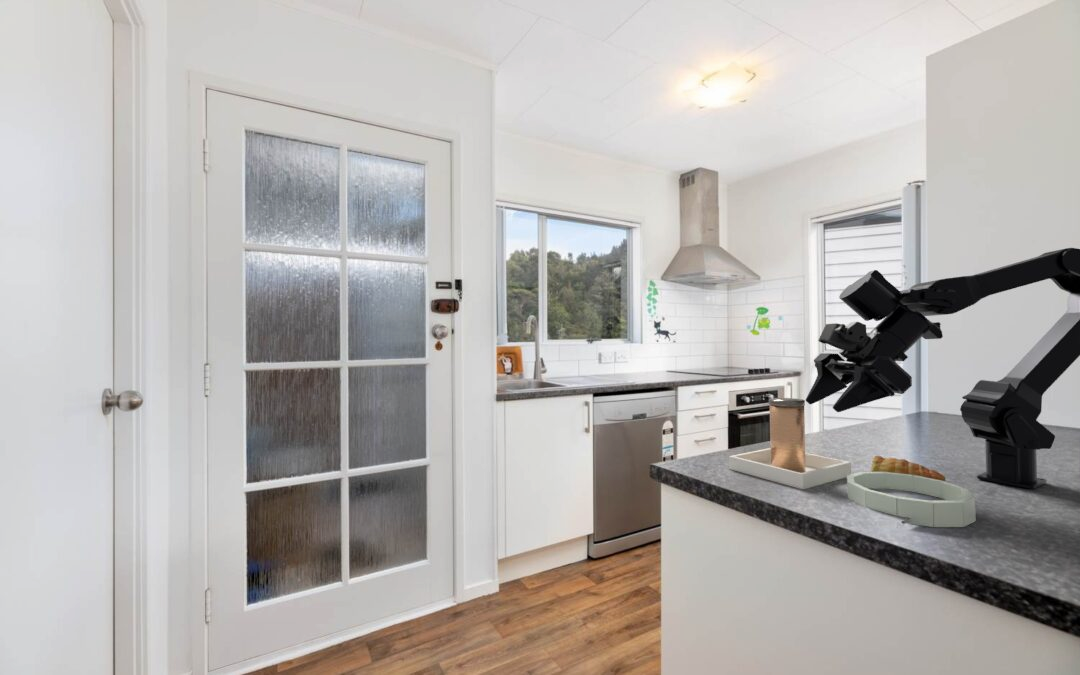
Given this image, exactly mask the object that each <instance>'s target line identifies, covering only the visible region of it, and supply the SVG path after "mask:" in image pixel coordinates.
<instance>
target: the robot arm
mask: <svg viewBox="0 0 1080 675" xmlns="http://www.w3.org/2000/svg"><path fill="white" fill-rule="evenodd" d="M1049 279H1050V280H1051V281H1052V282H1054V284H1055V285H1056V286H1057V287H1058V288H1059V289H1060V290H1063V291H1064V292H1067V293H1068V295H1067V300H1066V301H1067V305H1066V307H1067V310H1066V311H1065V313H1064V314H1062V316H1060V318H1059V319H1058V320H1057V321H1056V322H1055V323H1054V325H1053V326H1052V327H1051V328H1050V329H1049V330H1048V331H1046V333H1045V334H1044V335H1043V336H1042V337H1041V338H1040V339H1039V340H1038V342H1037V343H1036V344H1034V346H1032V348H1031V349H1029V351H1028V352H1027V353H1026V354H1025V355H1024V356H1023V357H1022V358H1021V359H1020V360H1019V362H1018V363H1017V364H1016V365H1014V367H1012V369H1011V370H1010V371H1009V372H1008V373H1007V375H1005V376H1004V377H1003V378H1001V379H999V380H997V381H994V380H985V379H980V380H979V381H978V382H976V384H975V385H974V387H973V388H972V389H971V391H970V392H968V393H967V394H965V395H963V396H961V397H962V399H963V400H964V401H963V402H962V404H961V406H960V409H959V410H960V412H961V417H962V420H963V421H964V423H965V424H966V425H967V426H968V427H969V428H970V432H971V434H972V436H973V437H974V438H978V439H983V440H984V443H985V444H984V445H985V446H984V447H985V448H984V449H985V472H982V473H979V474H977V475H976V479H979V480H984V481H988V482H993V483H999V484H1004V485H1010V486H1013V487H1014V486H1015V487H1020V488H1023V489H1024V488H1025V489H1031V490H1034V489H1036V488H1038V487H1040V486H1042V485H1044V484H1047V478H1046V479H1045V478H1039V477H1038V468H1037V466H1038V464H1037V461H1038V460H1037V451H1038V450H1045V449H1047V450H1050V449H1052V446H1053V443H1054V441H1055V438H1056V435H1055V434H1054V433H1053V432H1052V431H1050V430H1049V429H1048V428H1046V427H1045V425H1043V424H1042V423H1040V422H1039V420H1037V419H1038V418H1039V416H1040V415H1041V413H1042V404H1043V403H1042V402H1043V395H1044V394H1045V393H1046V392H1047V390H1048V389H1050V387H1051V386H1052V385H1054V383H1055V382H1056V381H1057V380H1058V379H1059V378H1060V377H1061V376H1062V375H1063V374H1064V373H1065V372H1066V371H1067V370H1068V369H1069V368H1070V366H1072V365H1073V363H1074V362H1076V360H1077V359H1078V358H1079V357H1080V248H1076V247H1067V248H1063V249H1058V250H1052V251H1047V252H1044V253H1041V255H1040V254H1039V255H1038V256H1034V257H1031V258H1028V259H1025V260H1021V261H1018V262H1017V261H1016V262H1015V263H1011V264H1008V265H1003V266H1001V267H996V268H992V269H990V270H987V271H983V272H979V273H975V274H972V275H964V276H954V277H949V278H941V279H935V280H932V281H931V280H930V281H926V282H920V283H916V284H914V285H912V286H911V287H909V288H908V289H902V290H899V289H898V288H897V287H896V286H894V285H893V284H892V283H891V282H889V280H887V279H886V278H885V277H884V275H883V274H882V273H881V272H880V271H879V270H875V269H874V270H870V271H868V272H867V273H866V274H864V276H862V277H860V278H859V279H857V280H856V281H854V282H853V283H852V284H849V285H848V286H846V288H845V289H844V290H842V292H841V293H840V294H839V296H838V298H839V299H840V300H841V301H842V302H843V303H844V304H846V305H847V306H848V307H849V308H850V309H851V310H852V311H854V312H855V313H856V314H857V315H858V316H859V317H861V318H862V319H863V320H864V321H866V322H867V321H871V320H873V321H876V322H878V321H881V322H879V323H878V324H877V325H876V326H875V327H874V328H873V329H872V330H871V331H870V332H867V325H866V324H864V323H861V322H859V321H852V322H850V323H848V324H847V325H846V324H844V323H842V324H841V323H837V322H836V323H826V324H825V326H824V328H823V330H822V332H821V334H820V336H819V338H818V343H819V342H820V343H821V344H827V345H829V346H831V347H833V348H834V347H835V348H836V349H838V350H840V351H839V352H838V353H831V352H826V353H820V354H819V355H817V357H815V358H814V359H813V363H814V366H815V368H816V372H817V375H816V378H815V381H814V383H813V385H812V387H811V389H810V390H809V392H808V395H807V396H806V398H805V403H807V404H808V405H813V404H815V403H817V402H819V401H822V400H824V399H826V398H827V397H830V396H832V395H833V394H836V393H837V392H840V391H842V390H844V392H843V393H842V394H841V395H840V397H839V398H837V400H836V401H835V403H834V404H833V406H832V409H833V411H835V413H841V412H843V411H847V410H849V409H853V408H856V407H859V406H862V405H865V404H867V403H871V402H874V401H878V400H881V399H884V398H888V397H893V396H895V394H899V395H903V394H905V393H906V392H907V391H908V390H909V389H910V388H911V387H912V386H913V385H912V383H913V380H912V378H913V377H912V376H911V375H910V374H909V373H908V372H907V371H906V370H905V369H904V368H903V367H901V366H900V365H899V364H898V363H897V362H905V361H906V360H907V359H908V358H909V356H908V355H907V354H906V352H907V351H909V349H910V348H912V346H914V345H915V344H916V343H917V342H918V341H920V339H921V338H923V339H924V340H940V339H942V338H943V337H944V336H943V331H942V329H941V324H942V323H941V322H939V321H938V322H937V321H936V322H932V321H931V320H930V319H928V318H927V317H933V316H934V317H935V316H944V315H954V314H956V313H958V312H960V311H962V310H964V309H967V308H968V307H971V306H974V305H975V304H977V303H978V302H979V301H980V300H982V299H984V298H987V297H989V296H992V295H996V294H999V293H1003V292H1006V291H1009V290H1010V291H1011V290H1013V289H1017V288H1021V287H1024V286H1027V285H1031V284H1035V283H1039V282H1042V281H1045V280H1049ZM844 358H846V360H845V359H844ZM845 388H846V389H845Z"/></svg>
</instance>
